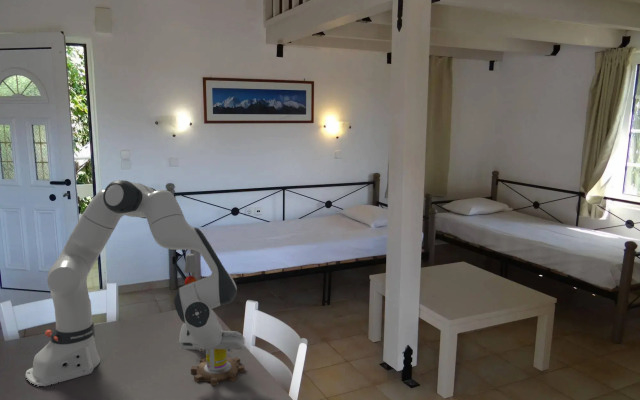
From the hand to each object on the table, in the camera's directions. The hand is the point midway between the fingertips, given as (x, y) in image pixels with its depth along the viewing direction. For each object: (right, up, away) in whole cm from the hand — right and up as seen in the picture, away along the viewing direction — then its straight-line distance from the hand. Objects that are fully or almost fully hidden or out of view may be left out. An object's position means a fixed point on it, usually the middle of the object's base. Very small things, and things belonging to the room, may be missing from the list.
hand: (216, 348), depth 165 cm
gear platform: (0, -9, +3) cm, 9 cm away
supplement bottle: (-1, -7, +3) cm, 8 cm away
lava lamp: (-13, -5, +23) cm, 27 cm away
